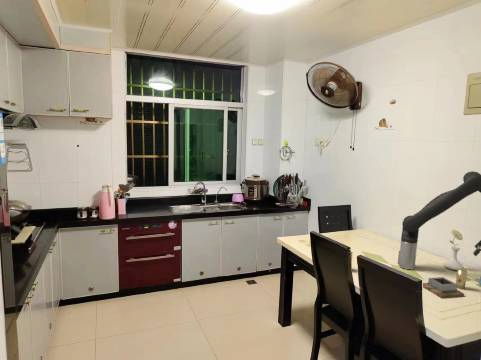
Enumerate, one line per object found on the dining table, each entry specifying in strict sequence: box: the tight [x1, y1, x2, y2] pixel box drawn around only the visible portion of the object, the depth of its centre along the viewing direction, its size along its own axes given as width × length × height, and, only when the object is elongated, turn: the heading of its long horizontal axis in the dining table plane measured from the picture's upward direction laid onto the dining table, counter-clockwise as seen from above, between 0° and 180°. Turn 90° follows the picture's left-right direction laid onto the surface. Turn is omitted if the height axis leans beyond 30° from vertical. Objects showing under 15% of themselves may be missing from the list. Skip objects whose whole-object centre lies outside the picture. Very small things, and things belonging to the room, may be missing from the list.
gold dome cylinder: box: [455, 269, 468, 290], centre depth 178 cm, size 4×4×10 cm
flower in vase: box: [442, 228, 465, 271], centre depth 206 cm, size 13×11×25 cm
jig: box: [422, 276, 465, 299], centre depth 174 cm, size 14×14×6 cm
